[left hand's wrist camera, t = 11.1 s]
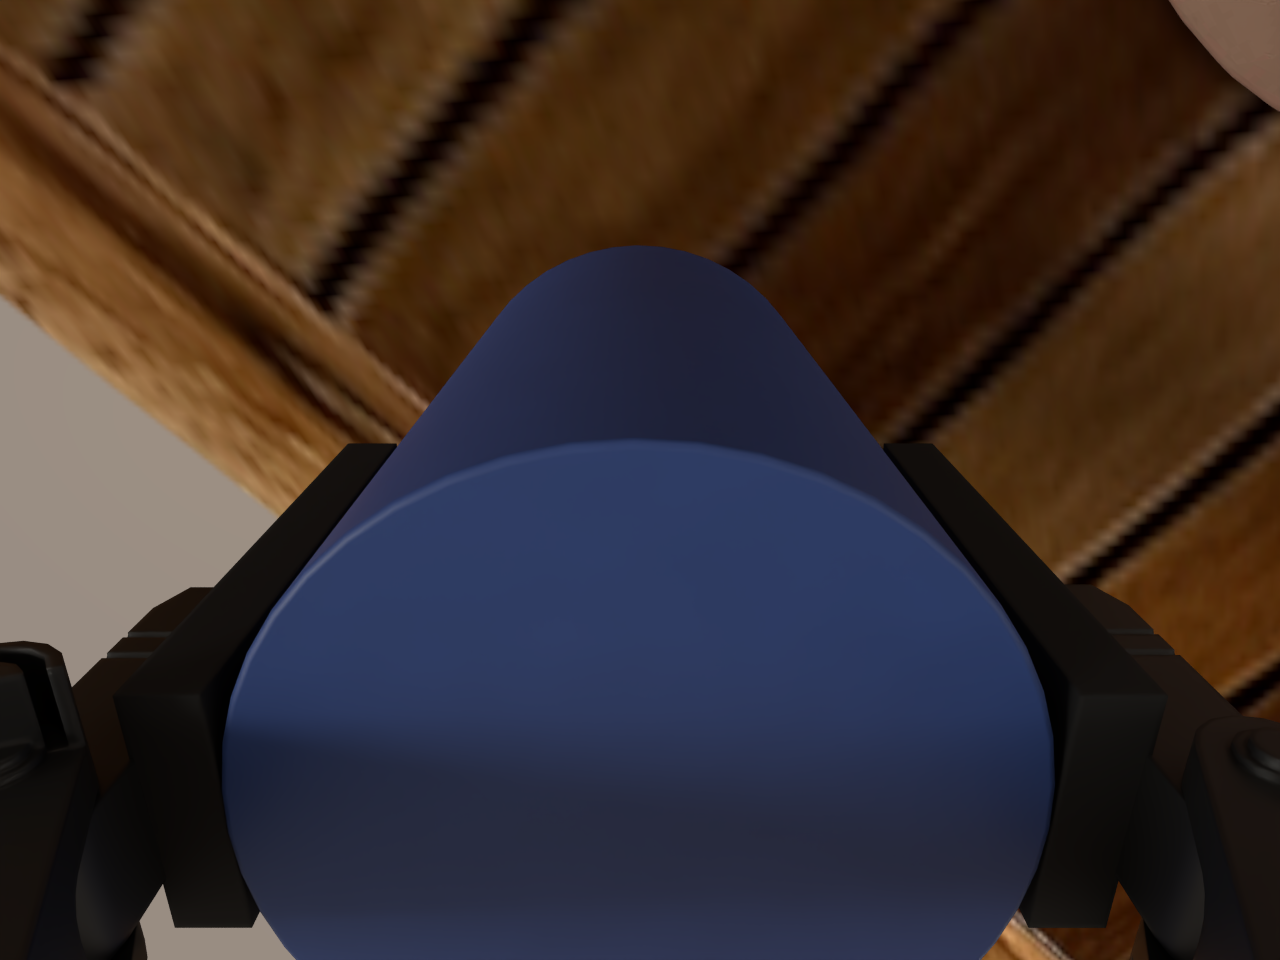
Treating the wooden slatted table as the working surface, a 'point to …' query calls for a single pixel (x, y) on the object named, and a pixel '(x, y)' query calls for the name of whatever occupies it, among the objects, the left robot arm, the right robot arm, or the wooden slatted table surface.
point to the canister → (638, 666)
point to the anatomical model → (1240, 40)
